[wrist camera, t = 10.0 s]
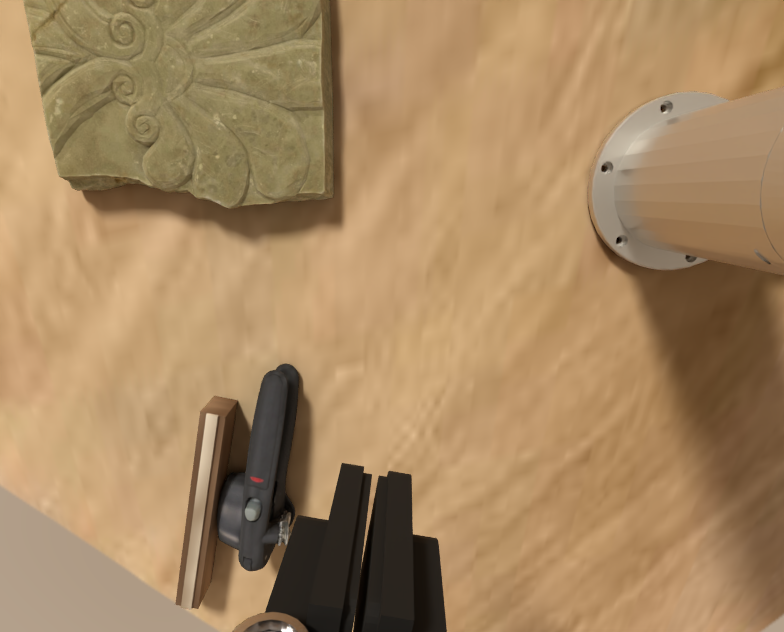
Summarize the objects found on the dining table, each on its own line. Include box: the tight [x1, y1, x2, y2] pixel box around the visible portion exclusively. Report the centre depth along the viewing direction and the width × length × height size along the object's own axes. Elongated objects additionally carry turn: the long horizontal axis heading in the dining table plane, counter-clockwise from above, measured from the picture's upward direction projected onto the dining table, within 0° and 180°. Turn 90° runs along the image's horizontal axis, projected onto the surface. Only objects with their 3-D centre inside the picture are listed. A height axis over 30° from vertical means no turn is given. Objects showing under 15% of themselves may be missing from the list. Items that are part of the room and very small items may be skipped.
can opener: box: [217, 364, 299, 571], centre depth 39 cm, size 18×7×6 cm, turn 166°
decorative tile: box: [23, 0, 334, 209], centre depth 33 cm, size 19×20×4 cm
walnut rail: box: [176, 396, 238, 610], centre depth 41 cm, size 2×19×3 cm, turn 168°
